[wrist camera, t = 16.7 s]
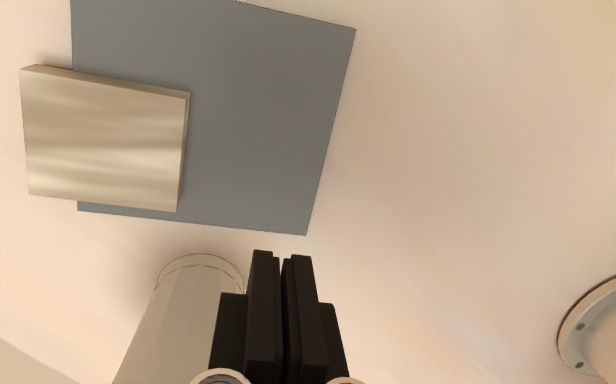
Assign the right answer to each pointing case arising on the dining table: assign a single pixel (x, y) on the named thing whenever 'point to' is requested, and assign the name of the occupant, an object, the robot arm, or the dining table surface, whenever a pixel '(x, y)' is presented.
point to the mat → (227, 100)
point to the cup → (179, 322)
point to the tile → (103, 138)
